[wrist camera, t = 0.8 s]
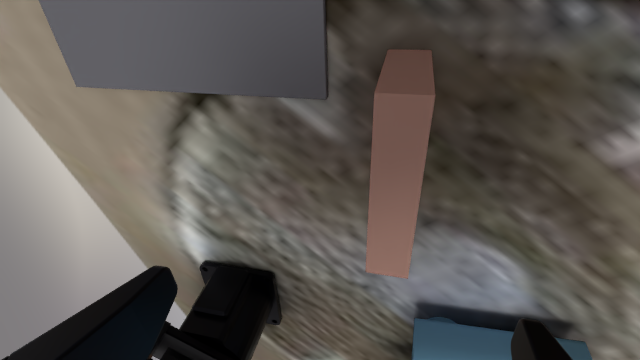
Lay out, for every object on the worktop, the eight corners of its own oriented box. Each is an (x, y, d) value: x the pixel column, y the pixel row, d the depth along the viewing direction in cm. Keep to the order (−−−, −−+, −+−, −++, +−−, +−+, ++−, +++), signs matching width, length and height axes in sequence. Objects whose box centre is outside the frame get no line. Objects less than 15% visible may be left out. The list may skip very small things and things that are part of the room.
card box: (412, 202, 21) (409, 278, 17) (378, 198, 22) (365, 272, 17) (433, 49, 16) (437, 95, 12) (387, 48, 17) (374, 92, 12)
